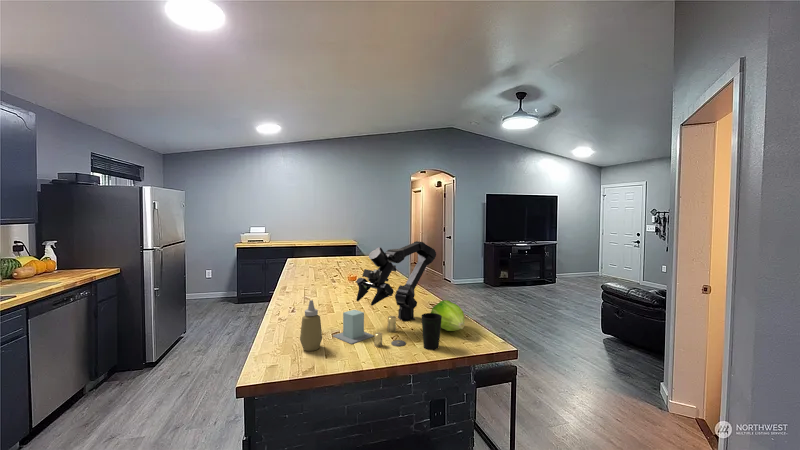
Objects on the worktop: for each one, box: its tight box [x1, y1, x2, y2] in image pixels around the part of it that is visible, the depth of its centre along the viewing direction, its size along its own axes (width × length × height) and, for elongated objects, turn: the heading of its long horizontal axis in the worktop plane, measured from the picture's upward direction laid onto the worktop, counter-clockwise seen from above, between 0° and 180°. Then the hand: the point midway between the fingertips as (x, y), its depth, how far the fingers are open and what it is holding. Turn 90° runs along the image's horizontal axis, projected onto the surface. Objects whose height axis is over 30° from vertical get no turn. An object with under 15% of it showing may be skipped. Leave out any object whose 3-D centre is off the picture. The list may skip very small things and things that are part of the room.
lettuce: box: [430, 299, 465, 332], centre depth 148 cm, size 14×20×12 cm
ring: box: [390, 339, 407, 347], centre depth 134 cm, size 6×6×1 cm
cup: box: [420, 312, 442, 351], centre depth 130 cm, size 8×8×12 cm
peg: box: [387, 315, 397, 333], centre depth 148 cm, size 3×3×6 cm
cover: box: [342, 309, 365, 339], centre depth 141 cm, size 6×6×10 cm
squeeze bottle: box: [299, 299, 323, 352], centre depth 128 cm, size 8×8×18 cm
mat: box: [332, 331, 374, 345], centre depth 141 cm, size 12×12×1 cm
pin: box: [373, 332, 383, 348], centre depth 131 cm, size 3×3×4 cm
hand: (364, 303), depth 145 cm, fingers open, 9 cm apart
